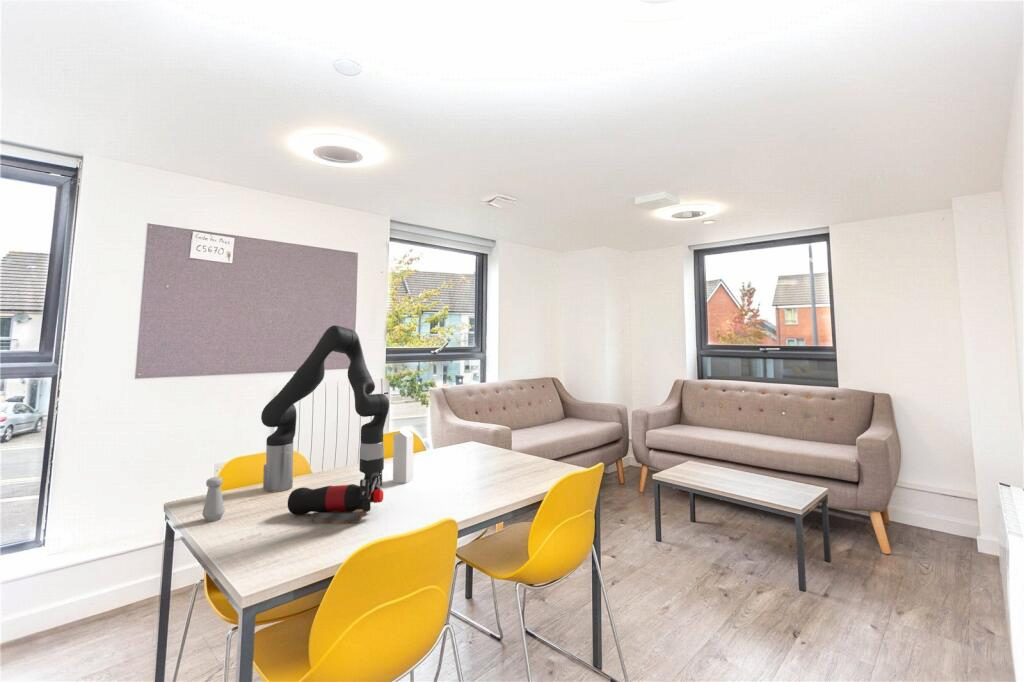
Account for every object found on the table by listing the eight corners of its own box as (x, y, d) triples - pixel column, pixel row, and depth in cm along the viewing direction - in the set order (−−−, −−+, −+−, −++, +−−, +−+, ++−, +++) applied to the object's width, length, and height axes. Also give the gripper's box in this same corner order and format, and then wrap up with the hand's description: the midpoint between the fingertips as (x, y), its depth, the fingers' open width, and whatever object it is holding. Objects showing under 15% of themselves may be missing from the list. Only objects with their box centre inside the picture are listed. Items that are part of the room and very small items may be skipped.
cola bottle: (297, 516, 148) (385, 510, 146) (283, 514, 140) (376, 508, 138) (300, 489, 151) (387, 483, 150) (287, 486, 143) (378, 480, 142)
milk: (392, 482, 181) (392, 428, 181) (400, 478, 186) (400, 425, 187) (406, 483, 179) (406, 428, 180) (413, 479, 185) (413, 426, 185)
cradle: (311, 522, 138) (311, 514, 138) (329, 508, 151) (329, 500, 151) (355, 523, 137) (355, 515, 137) (370, 508, 150) (370, 501, 150)
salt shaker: (207, 524, 136) (208, 481, 137) (198, 520, 139) (199, 478, 140) (228, 518, 141) (229, 477, 142) (219, 514, 144) (220, 474, 145)
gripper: (368, 450, 151) (367, 498, 151) (351, 461, 137) (351, 514, 137) (390, 451, 151) (389, 499, 151) (375, 461, 137) (375, 514, 137)
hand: (371, 506), depth 144 cm, fingers open, 8 cm apart
